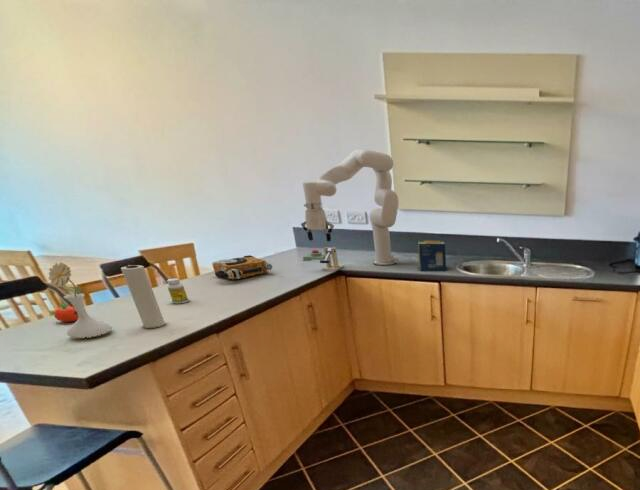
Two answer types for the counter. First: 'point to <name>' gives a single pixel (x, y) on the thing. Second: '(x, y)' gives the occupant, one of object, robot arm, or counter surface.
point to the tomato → (66, 314)
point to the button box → (314, 256)
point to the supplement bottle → (177, 291)
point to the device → (240, 267)
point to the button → (315, 251)
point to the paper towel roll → (143, 296)
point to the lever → (326, 256)
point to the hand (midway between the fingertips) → (320, 240)
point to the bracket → (335, 260)
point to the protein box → (432, 255)
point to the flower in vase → (77, 306)
